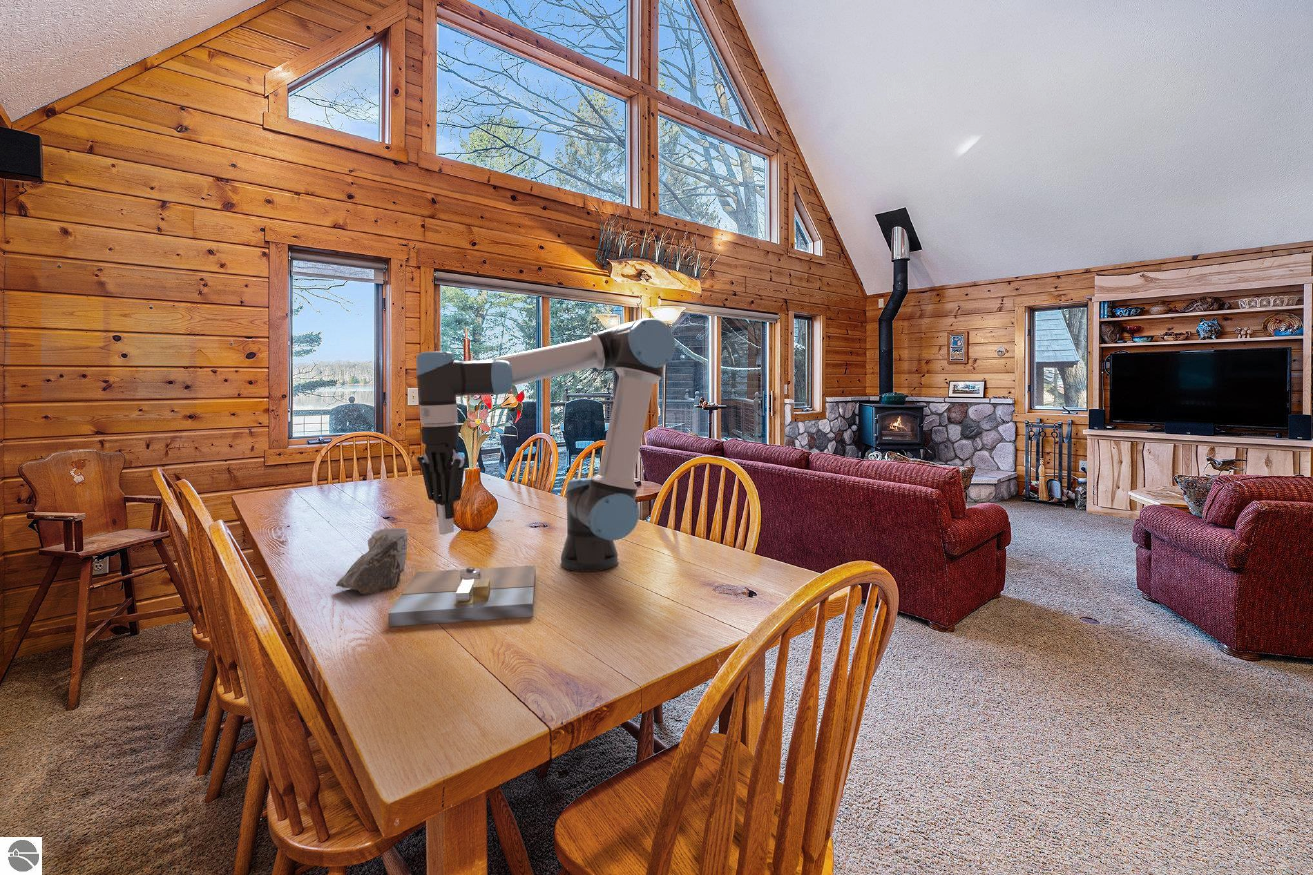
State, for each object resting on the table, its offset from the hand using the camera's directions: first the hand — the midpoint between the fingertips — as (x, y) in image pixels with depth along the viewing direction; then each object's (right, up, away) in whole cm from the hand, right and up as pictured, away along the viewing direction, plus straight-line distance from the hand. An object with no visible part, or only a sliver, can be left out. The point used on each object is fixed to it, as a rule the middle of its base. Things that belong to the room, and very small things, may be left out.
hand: (446, 532), depth 128 cm
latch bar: (+5, -13, 0) cm, 13 cm away
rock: (-22, -15, +11) cm, 29 cm away
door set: (+4, -15, +4) cm, 16 cm away
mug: (-24, -14, +24) cm, 37 cm away
